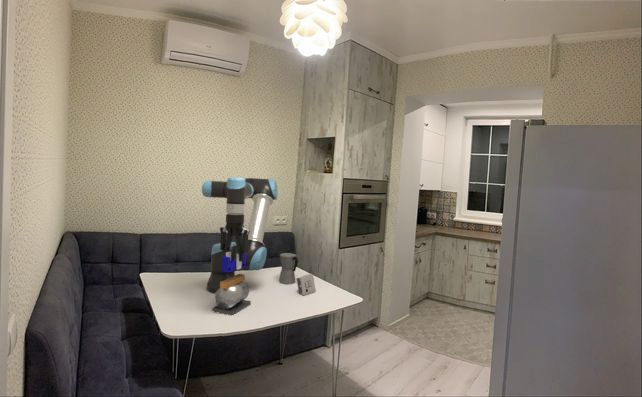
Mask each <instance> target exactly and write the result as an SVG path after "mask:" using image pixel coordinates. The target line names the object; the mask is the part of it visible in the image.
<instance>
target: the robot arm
mask: <svg viewBox="0 0 642 397" xmlns="http://www.w3.org/2000/svg"><path fill="white" fill-rule="evenodd" d="M201 193H202V196H203V197H204V198H205V197H206V198H210V199H211V198H218V199H219V198H220V199H226V207H225V208H226V210H225V213H226V214H225V222H226V224H225V226H221V227H219V230H220V242H219V243H215V244H213V245H212V246H211V247H212V248H211V253H210V257H211V259H210V276H209V278H208V281H207V282H206V283H207V284H206V291H207V292H209V293H213V294H216V292H217V290H218V289H220V282H221V281H223V280H226V279H228V278H230V277H233V276H235V275H236V270H234V271H231V272H228V273H227V272H222V257H224V256H225V257H230V260H231V263H232V261H233V260H235V259H237V263H236V269H237V270H243V271H247V270H248V271H260V270H262V269H263V267H264V265H265V263H266V259H267V254H268V251H267V249H268V248H266V247H265V244H264V242H263V240H264V236H265V230H266V225H267V220H268V215H269V211H270V210H269V209H270V206H271V205H272V204H274V201H276V200H277V199H278V185H277V181H276V180H275V179H273V178H255V177H248V178H247V177H245V178H244V177H233V176H232V177H231V176H230V177H228V178H227V180H225V181H223V180H221V181H220V180H218V181H217V180H205V181H204V182H203V183H202V185H201ZM247 199H252V201H253V207H252V209H251V210H252V211H251V215H250V219H249V223H248V228H245V225H244V224H245V215H244V213H245V205H246V202H245V201H246V200H247ZM234 237H235V240H236V241H233V238H234ZM244 253H246V264H245V267H243V268H241V264H242V261H243V254H244Z"/></svg>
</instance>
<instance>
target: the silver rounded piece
mask: <svg viewBox="0 0 642 397" xmlns="http://www.w3.org/2000/svg"><path fill="white" fill-rule="evenodd" d="M245 279H246V275H245V274H242V273H238V274H235V276H233V277H230V278H228V279H226V280H223V281H221V282H220V289H218V290H217V292H216V293H214V294H215V295H214V300H215V301H214V302H215V303H216V305H215V306H214V307H212V308H211V311H214V312H213V313H217V312H219V313H218V314H222V313H224V314H223V315H227V314H228V316H232V315H233V316H235V315H236V314H238V313H240V312H241V311H242V310H244V309H246V308H247V307H249V306H251V305H252V303H251V302H252V301H251V300H248V299H247V298H248V296H249V294H250V286H249V285H248V284H247V282H245ZM234 314H235V315H234Z"/></svg>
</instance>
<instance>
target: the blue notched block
mask: <svg viewBox="0 0 642 397" xmlns="http://www.w3.org/2000/svg"><path fill="white" fill-rule="evenodd" d="M236 263H237V259H235V260H233V261H232V263H231V260H230V257H225V256H224V257H222V272H227V273H228V272H231V271H234V270H235V271H236V270H237V269H236ZM245 264H246V253H244V254H243V261H242V264H241V268H243V267H245Z"/></svg>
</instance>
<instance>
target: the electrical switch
mask: <svg viewBox="0 0 642 397" xmlns="http://www.w3.org/2000/svg"><path fill="white" fill-rule="evenodd" d="M314 279H315V278H314V274H313V273H307V274H305V275H301V276H299V277H297V278H296V282H297V283H296V284H297V288H298V290H297V291H298V294H299V295H302V296H306V295H310V294H312V293H315V292H316V287H315V286H316V284H315V280H314Z"/></svg>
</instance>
